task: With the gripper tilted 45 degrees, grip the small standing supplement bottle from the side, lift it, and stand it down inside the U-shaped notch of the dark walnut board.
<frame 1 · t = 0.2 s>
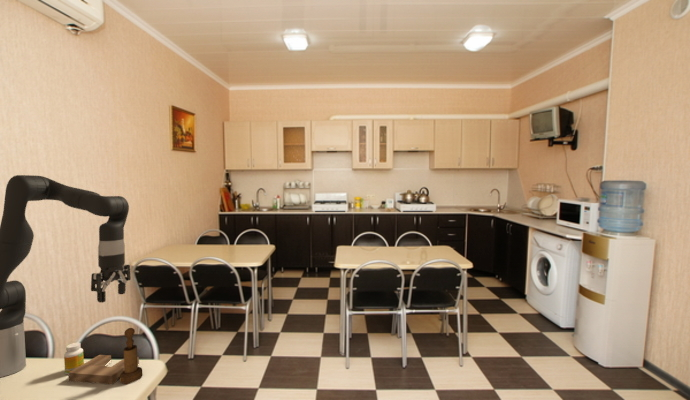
hand: (112, 297, 111), 29 cm above the table, tool pointing down, fingers open, 8 cm apart
mortar and pestle: (131, 378, 111), on the table
notched board: (105, 372, 115), on the table
supplement bottle: (74, 371, 117), on the table
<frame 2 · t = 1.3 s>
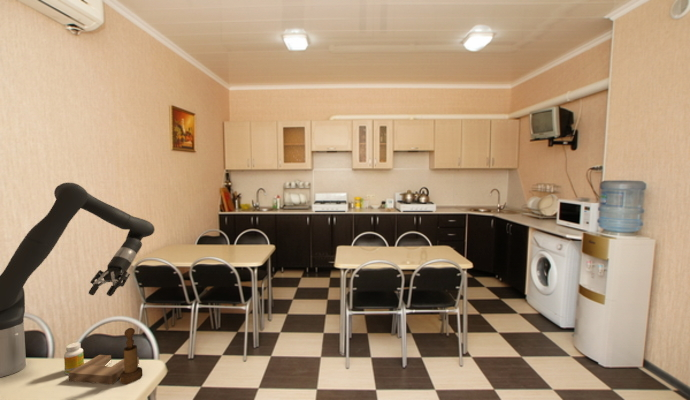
hand: (99, 294, 127), 25 cm above the table, tool tilted 45°, fingers open, 8 cm apart
nothing on the table moved.
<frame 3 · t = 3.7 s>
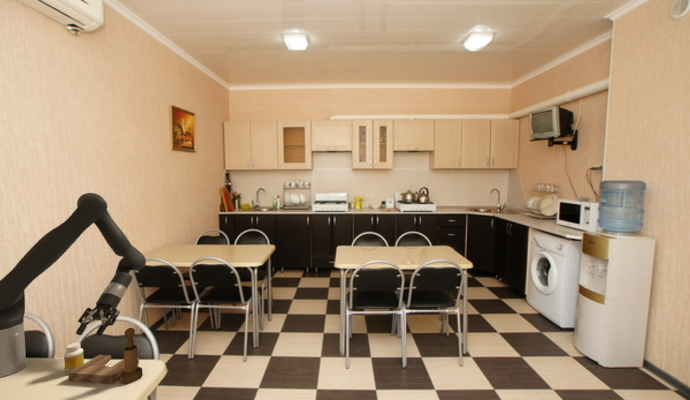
hand: (87, 335, 122), 11 cm above the table, tool tilted 45°, fingers open, 8 cm apart
nothing on the table moved.
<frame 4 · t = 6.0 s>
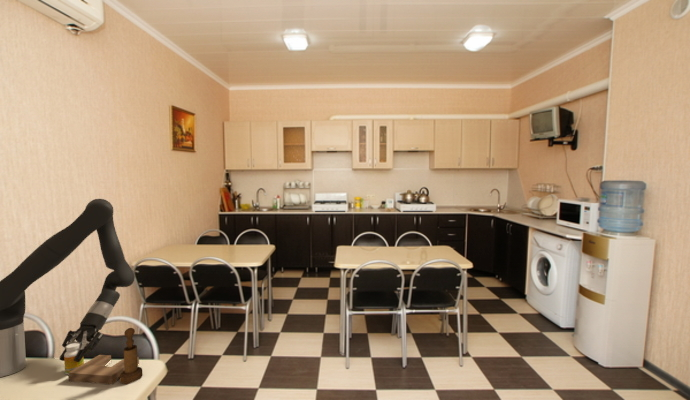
hand: (69, 360, 115), 5 cm above the table, tool tilted 45°, fingers closed on supplement bottle, 5 cm apart
supplement bottle: (74, 371, 117), on the table, touching gripper
everything else where it was.
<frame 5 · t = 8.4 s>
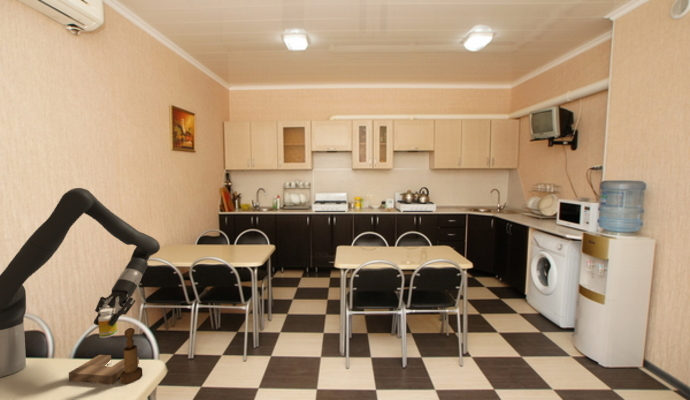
hand: (103, 324, 115), 17 cm above the table, tool tilted 45°, fingers closed on supplement bottle, 5 cm apart
supplement bottle: (108, 335, 118), point 13 cm above the table, touching gripper
everything else where it was.
when the fingers open (6 cm above the table, at t = 11.1 s): supplement bottle drops 1 cm, on the table.
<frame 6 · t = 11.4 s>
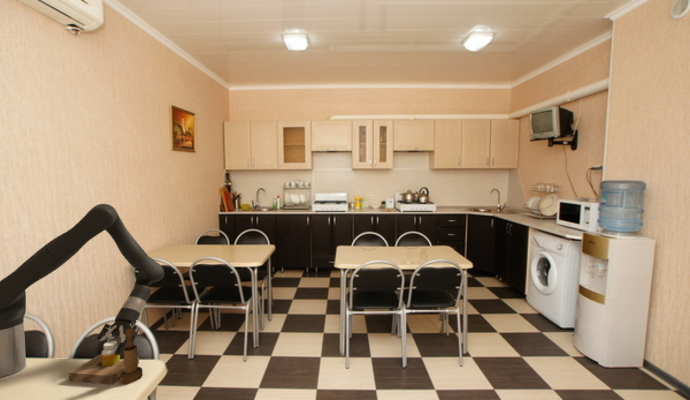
hand: (107, 353, 116), 7 cm above the table, tool tilted 45°, fingers open, 7 cm apart
supplement bottle: (111, 369, 118), on the table
everything else where it was.
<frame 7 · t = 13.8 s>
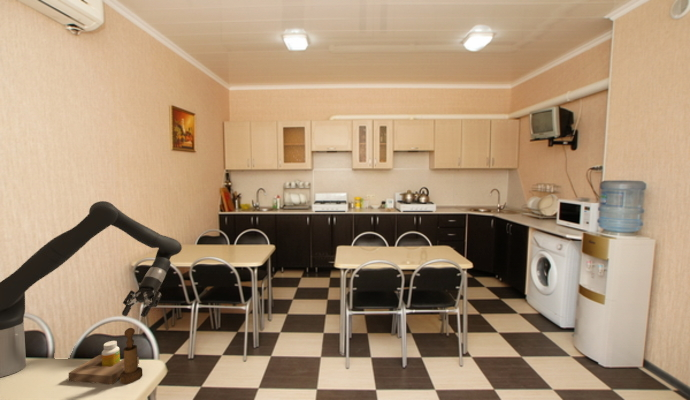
hand: (133, 315, 128), 16 cm above the table, tool tilted 45°, fingers open, 8 cm apart
nothing on the table moved.
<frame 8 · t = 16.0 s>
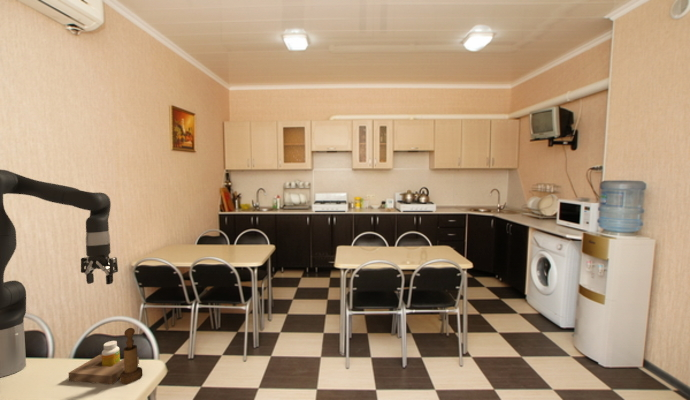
hand: (100, 283, 124), 30 cm above the table, tool pointing down, fingers open, 8 cm apart
nothing on the table moved.
at the end: supplement bottle 0.6 cm from the target spot on the notched board, point 0.0 cm above the notched board's base; supplement bottle tilted 0°; the gripper is holding nothing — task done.
